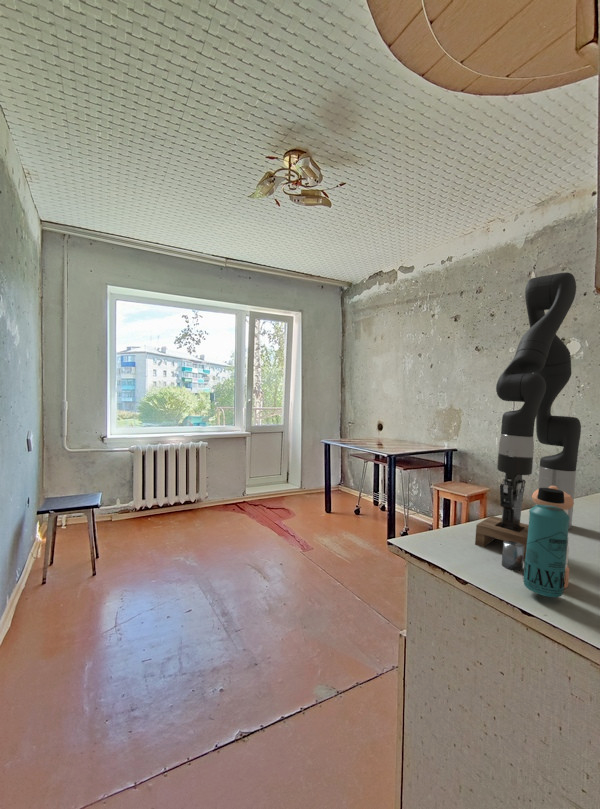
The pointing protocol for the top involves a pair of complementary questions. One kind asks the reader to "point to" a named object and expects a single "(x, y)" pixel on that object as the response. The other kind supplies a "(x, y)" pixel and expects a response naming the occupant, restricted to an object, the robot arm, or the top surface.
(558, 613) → the top surface
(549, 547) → the beverage bottle
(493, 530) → the hole bridge
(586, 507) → the top surface
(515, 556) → the short pin
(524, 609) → the top surface
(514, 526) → the tall pin
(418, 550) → the top surface
